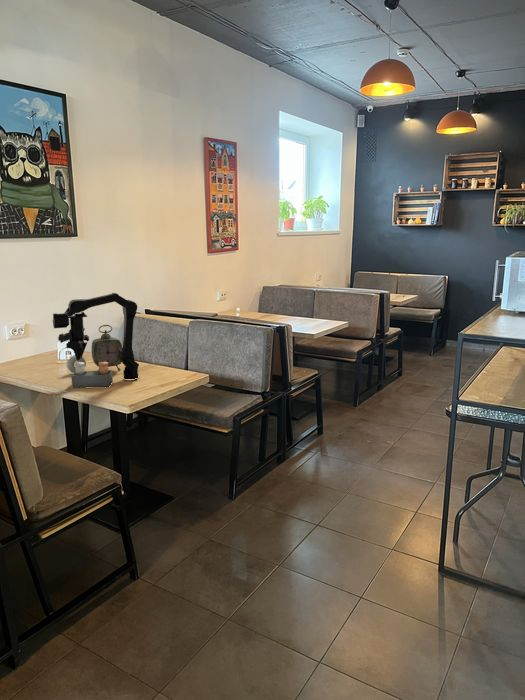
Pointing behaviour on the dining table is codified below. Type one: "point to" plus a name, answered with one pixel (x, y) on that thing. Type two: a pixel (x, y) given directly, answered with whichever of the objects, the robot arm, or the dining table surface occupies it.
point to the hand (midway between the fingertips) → (79, 359)
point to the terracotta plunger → (103, 367)
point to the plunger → (80, 368)
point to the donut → (73, 360)
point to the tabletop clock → (106, 349)
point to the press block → (92, 379)
